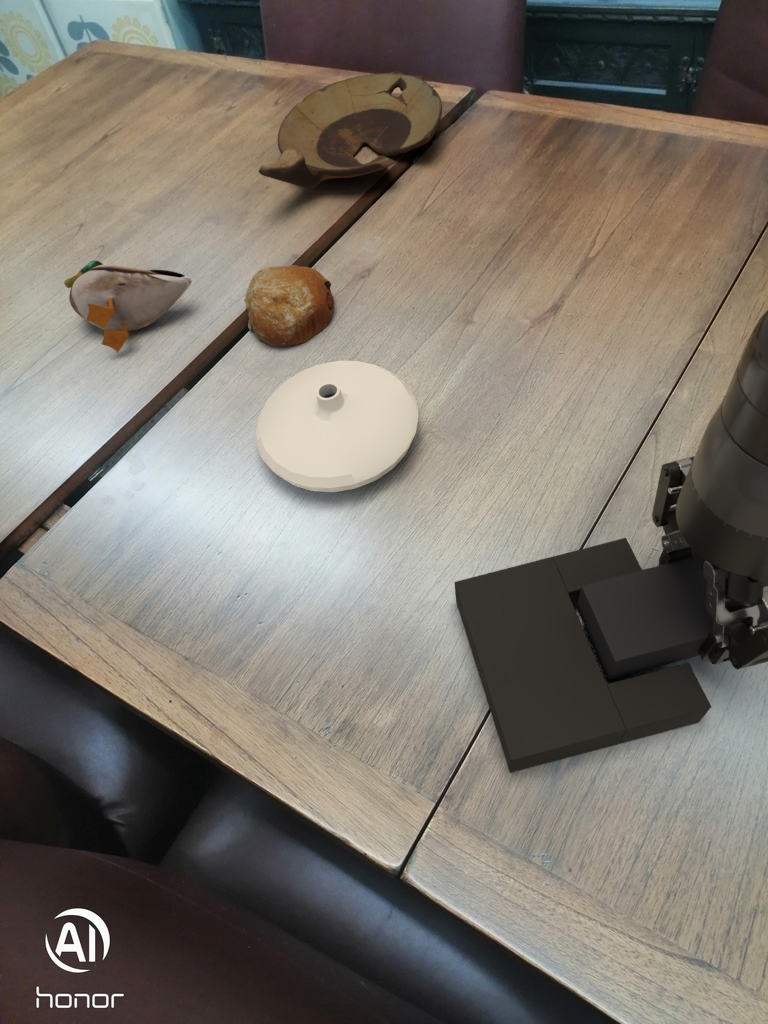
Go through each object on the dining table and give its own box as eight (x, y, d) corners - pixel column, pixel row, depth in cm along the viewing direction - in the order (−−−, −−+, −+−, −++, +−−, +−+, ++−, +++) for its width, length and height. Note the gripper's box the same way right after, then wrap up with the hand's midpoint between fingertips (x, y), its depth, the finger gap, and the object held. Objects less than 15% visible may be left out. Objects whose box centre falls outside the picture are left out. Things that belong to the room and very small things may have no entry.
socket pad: (619, 559, 57) (626, 537, 54) (699, 722, 49) (712, 707, 46) (455, 601, 57) (454, 581, 54) (509, 772, 49) (511, 760, 46)
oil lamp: (481, 147, 94) (480, 88, 88) (291, 241, 88) (276, 184, 81) (391, 92, 106) (385, 35, 99) (218, 170, 99) (200, 116, 93)
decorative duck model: (48, 247, 82) (167, 206, 83) (81, 300, 88) (193, 262, 89) (45, 314, 73) (180, 267, 73) (83, 369, 79) (208, 325, 79)
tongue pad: (701, 574, 53) (713, 550, 50) (741, 644, 50) (757, 624, 47) (576, 607, 53) (581, 585, 50) (607, 680, 49) (615, 661, 46)
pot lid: (319, 365, 75) (305, 313, 69) (449, 410, 69) (446, 358, 63) (232, 471, 68) (208, 424, 62) (367, 531, 62) (355, 485, 56)
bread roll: (259, 329, 84) (214, 292, 78) (318, 268, 83) (278, 225, 76) (293, 376, 79) (248, 341, 73) (357, 312, 77) (317, 270, 71)
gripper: (923, 572, 33) (794, 692, 47) (763, 368, 41) (693, 521, 55) (773, 611, 33) (688, 720, 47) (642, 398, 41) (603, 545, 55)
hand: (691, 612), depth 51 cm, fingers closed on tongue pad, 6 cm apart
